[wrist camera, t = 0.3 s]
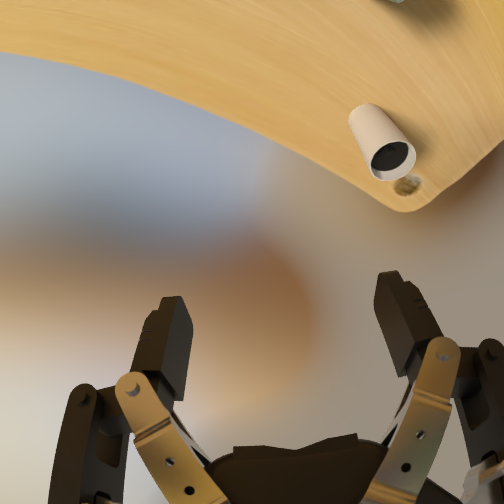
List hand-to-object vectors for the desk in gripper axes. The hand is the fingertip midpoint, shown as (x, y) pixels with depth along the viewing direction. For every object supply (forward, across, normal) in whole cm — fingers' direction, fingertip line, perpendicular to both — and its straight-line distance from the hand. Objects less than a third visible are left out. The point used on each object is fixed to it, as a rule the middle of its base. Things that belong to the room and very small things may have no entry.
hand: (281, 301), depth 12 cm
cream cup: (+33, -16, 0) cm, 37 cm away
